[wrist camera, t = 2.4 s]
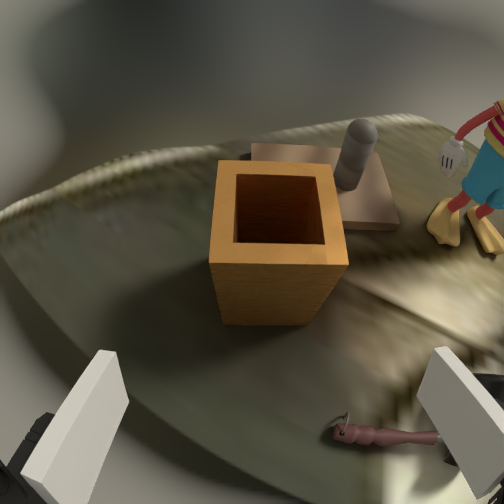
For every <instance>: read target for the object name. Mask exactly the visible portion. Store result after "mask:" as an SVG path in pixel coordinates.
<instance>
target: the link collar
mask: <svg viewBox="0 0 504 504" xmlns="http://www.w3.org/2000/svg"><path fill="white" fill-rule="evenodd" d="M348 265H349V262H348V255H347V249H346V242H345V236H344V230H343V224H342V219H341V213H340V208H339V202H338V197H337V192H336V187H335V182H334V177H333V172H332V168H331V165H329V164H315V163H298V162H276V161H231V160H219V163H218V172H217V181H216V190H215V200H214V210H213V221H212V231H211V243H210V254H209V266H210V270H211V274H212V279H213V283H214V287H215V292H216V296H217V300H218V305H219V309H220V313H221V317H222V321H223V325H259V326H295V325H308V324H309V323H310V322H311V320H312V319H313V317H314V316H315V314H316V313H317V312H318V310H319V309H320V307H321V306H322V304H323V303H324V301H325V300H326V299H327V297H328V296H329V294H330V293H331V291H332V290H333V288H334V287H335V285H336V284H337V282H338V281H339V279H340V278H341V276H342V275H343V273H344V271H345V270H346V268H347V267H348Z"/></svg>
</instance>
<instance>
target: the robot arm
mask: <svg viewBox="0 0 504 504" xmlns="http://www.w3.org/2000/svg"><path fill="white" fill-rule="evenodd" d="M416 396H417V398H418V400H419V401H420V403H421V404H422V406H423V407H424V409H425V411H426V412H427V414H428V416H429V417H430V419H431V420H432V422H433V424H434V425H435V427H436V429H437V430H438V432H439V434H440V435H441V437H442V439H443V440H444V442H445V444H446V445H447V447H448V449H449V451H450V452H451V454H452V456H453V457H454V459H455V461H456V463H457V464H458V466H459V468H460V470H461V472H462V473H463V475H464V477H465V479H466V481H467V482H468V484H469V486H470V488H471V490H472V492H473V493H474V495H475V497H476V499H479V498H481V497H483V496H485V495H487V494H488V493H490V492H492V490H493V489H494V488H495V487H496V486H497V485H498V484H499V483H500V484H501V486H502V487H501V488H500V489H499V490H498V491H497V493H496V494H495V495H494V496H493V497H492V498H491V499H490V500H489V502H488V504H491V503H492V502H493V501H494V500H495V499H496V498H497V500H496V501H495V502H494V503H493V504H504V403H503V402H501V401H500V400H498V399H494V398H493V397H492V396H491V395H490V394H489V393H488V391H487V390H486V389H485V388H484V387H483V386H482V384H481V383H480V382H479V381H478V380H477V379H476V378H475V377H474V375H473V374H472V373H471V372H470V371H469V370H468V369H467V368H466V366H465V365H464V364H463V363H462V362H461V361H460V360H459V359H458V358H457V357H456V356H455V355H454V353H453V352H452V351H451V350H450V349H449V348H448V347H447V346H445V347H439V348H434V349H433V352H432V355H431V358H430V361H429V364H428V367H427V369H426V372H425V375H424V377H423V380H422V383H421V385H420V388H419V390H418V393H417V395H416ZM128 403H129V400H128V397H127V393H126V390H125V386H124V382H123V379H122V375H121V371H120V367H119V363H118V359H117V354H116V352H113V351H105V350H99V351H98V352H97V354H96V355H95V357H94V358H93V359H92V361H91V362H90V364H89V365H88V367H87V368H86V370H85V371H84V373H83V374H82V376H81V377H80V378H79V380H78V381H77V383H76V384H75V386H74V387H73V389H72V390H71V392H70V393H69V395H68V396H67V398H66V399H65V401H64V402H63V404H62V405H61V407H60V408H59V410H58V412H57V413H56V415H55V414H51V413H48V412H46V413H45V414H44V415H42V416H41V417H40V418H38V419H37V420H36V421H35V423H34V425H33V426H32V427H31V429H30V432H28V433H27V435H26V436H25V440H23V441H22V443H21V444H20V446H19V448H18V449H17V451H16V452H15V454H14V455H13V457H12V458H11V460H10V462H9V463H8V465H7V466H5V465H4V464H3V463H2V461H1V460H0V504H88V501H89V498H90V496H91V493H92V490H93V488H94V485H95V483H96V480H97V477H98V475H99V472H100V470H101V467H102V465H103V462H104V460H105V457H106V455H107V452H108V450H109V448H110V445H111V443H112V440H113V438H114V435H115V433H116V431H117V428H118V426H119V424H120V421H121V419H122V417H123V414H124V412H125V410H126V408H127V405H128Z"/></svg>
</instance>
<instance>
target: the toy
mask: <svg viewBox="0 0 504 504" xmlns="http://www.w3.org/2000/svg"><path fill="white" fill-rule="evenodd" d="M493 117H494V118H493ZM491 118H493V119H491ZM489 119H491V120H490V121H489V122H488V126H487V128H486V129H485V132H484V136H485V138H486V139H485V141H484V142H483V145H482V146H481V148H480V150H479V153H478V155H477V157H476V159H475V161H474V163H473V165H472V167H471V169H470V171H469V173H468V175H467V177H464V179H463V180H462V188H463V190H462V192H461V193H460V194H459V195H458V196H457V197H455V198H453V199H452V198H444V199H442V200H441V201H440V203H439V204H438V205H437V207H436V208H435V210H434V211H433V213H432V214H431V216H430V218H429V220H428V223H427V229H428V232H430V233H431V234H432V235H434V237H435V238H436V240H437V242H438V243H439V244H449V245H450V246H456V247H457V246H458V245H459V243H460V225H459V209H460V208H462V207H464V206H466V204H467V203H468V202H469V201H470V200H471V198H472V199H473V200H474V201H476V202H477V203H479V204H481V206H474V207H472V208H470V209H469V210H468V211H467V216H468V218H469V220H470V223H471V225H472V227H473V229H474V231H475V233H476V235H477V238H478V240H479V242H480V244H481V246H482V247H483V249H484V251H485V252H486V253H493V254H495V255H498V254H502V253H503V252H504V248H503V247H504V239H503V238H502V236H501V235H500V234H499V233H498V231H497V230H496V229H495V228H494V227H493V225H492V224H491V223H490V222H489V221H488V219H487V218H486V217H485V216H486V215H488V214H490V213H492V212H493V211H494V209H504V99H501V100H499V101H497V102H495V103H494V106H493V107H491V108H489V109H487V110H485V111H483V112H482V113H480V114H478V115H477V116H475V117H474V118H472V119H471V120H469V121H467V123H465V124H464V125H463V126H462V127H461V128H460V129H459V130H458V132H457V134H456V136H455V137H450V139H449V140H448V141H447V142H446V143H445V144H444V145H443V146H442V148H441V151H440V155H439V165H440V169H441V171H442V173H443V174H444V175H446V176H449V177H451V176H453V175H454V174H455V173H456V171H457V169H458V167H459V165H460V163H462V164H463V166H465V167H467V166H468V161H467V155H466V152H465V151H464V149H463V148H462V147H463V142H462V139H463V138H464V136H466V135H467V134H468V133H469V132H470V131H471V130H473V129H474V128H476V127H477V126H479V125H481V124H482V123H484V122H486V121H487V120H489ZM484 203H485V204H484ZM482 204H483V205H482Z"/></svg>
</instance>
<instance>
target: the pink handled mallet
mask: <svg viewBox="0 0 504 504" xmlns="http://www.w3.org/2000/svg"><path fill="white" fill-rule="evenodd" d="M472 374H473V375H474V377H475V378H476V379H477V380H478V381H479V382H480V383H481V384H482V386H483V387H484V388H485V389H486V390H487V391H488V393H489V394H490V395H491V396H492V397H493V398H494V399H498V400H500V401H501V402H503V403H504V375H496V374H483V373H472ZM349 415H350V414H349V412H347V413H346V414H345V416H344V418H343V420H345V418H346V416H347V419H346V423H345V424H336V425H335V427H334V429H333V434H332V437H333V439H335V440H338V441H342V442H345V443H349V444H351V443H353V442H356V443H357V444H361V445H369V444H371V443H372V442H373V443H375V444H377V445H379V446H381V447H382V446H391V445H399V444H406V443H415V444H425V445H434V444H435V443H445V442H444V440H443V439H442V437H441V435H440V434H439V433H437V432H436V431H429V432H414V433H411V432H405V431H400V430H394V429H389V428H382V429H378V430H375V429H374V428H373V427H370V426H360V427H357V426H356V425H355V424H348V421H349ZM341 431H342V432H341ZM443 461H444V462H445V463H448V464H450V465H454V466H457V467H459V466H458V464H457V463H456V461H455V459H454V457H453V456H452V454H451V452H449V453H448V455H447V456H446V457H445V458H444V459H443Z"/></svg>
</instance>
